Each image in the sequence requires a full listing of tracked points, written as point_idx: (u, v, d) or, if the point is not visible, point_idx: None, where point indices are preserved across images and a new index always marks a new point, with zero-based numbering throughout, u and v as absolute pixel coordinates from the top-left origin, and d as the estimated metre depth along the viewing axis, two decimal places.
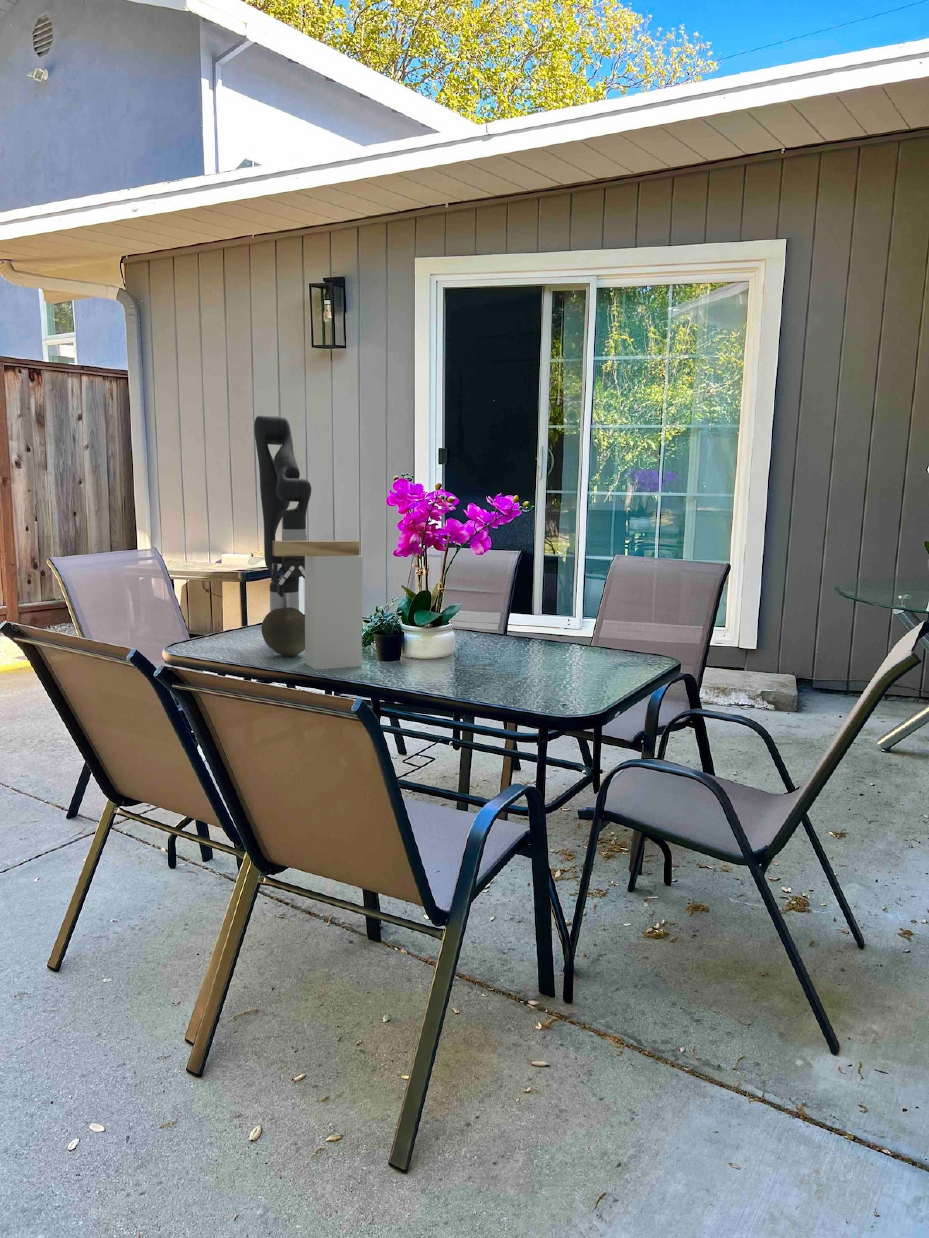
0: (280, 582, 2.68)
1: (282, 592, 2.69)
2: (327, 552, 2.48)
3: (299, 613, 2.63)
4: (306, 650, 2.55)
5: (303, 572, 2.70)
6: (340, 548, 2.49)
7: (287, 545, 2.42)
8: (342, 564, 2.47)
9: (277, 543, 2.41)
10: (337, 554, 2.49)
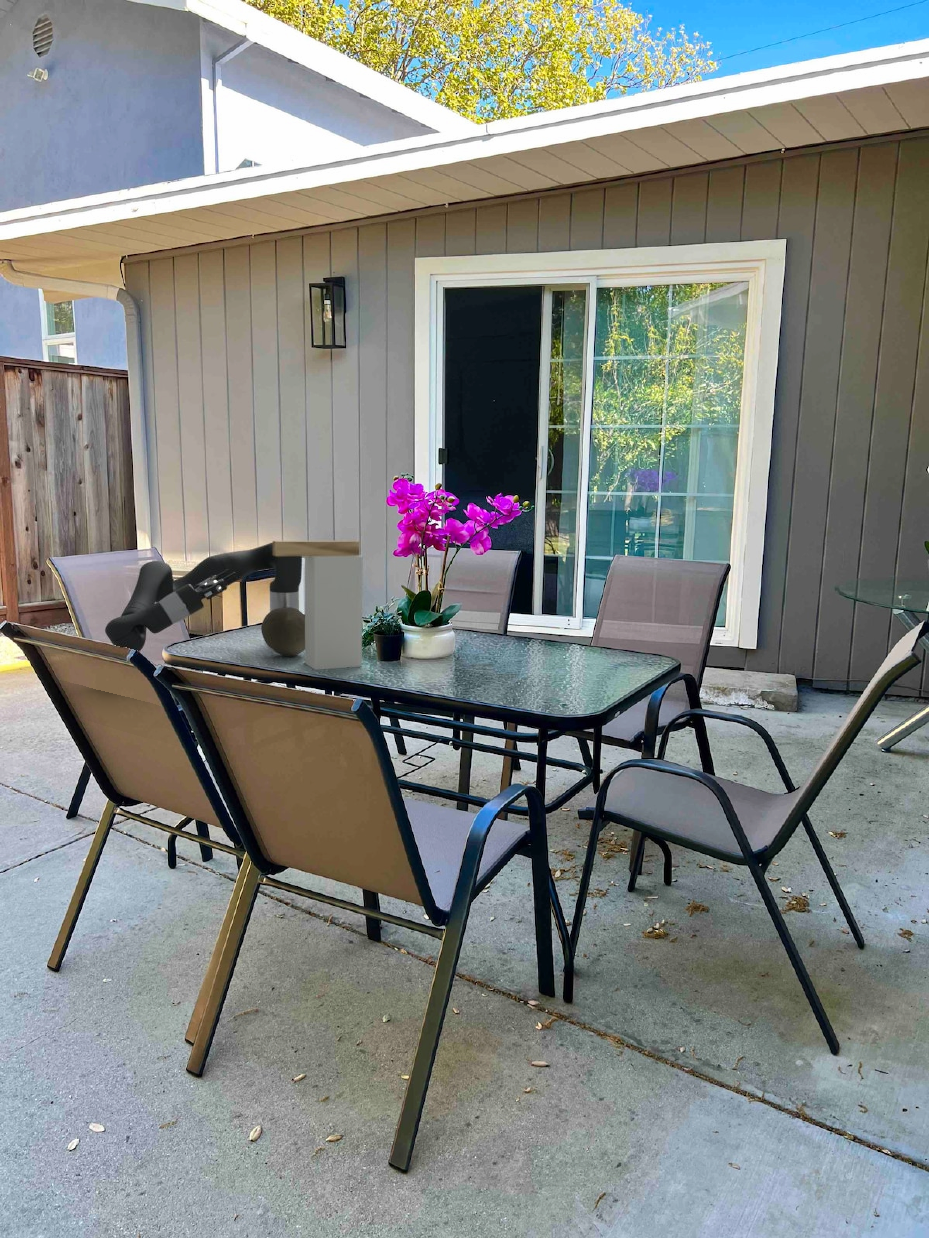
0: (220, 579, 2.33)
1: (230, 574, 2.34)
2: (327, 552, 2.48)
3: (299, 613, 2.63)
4: (306, 650, 2.55)
5: (205, 581, 2.38)
6: (340, 548, 2.49)
7: (287, 545, 2.42)
8: (342, 564, 2.47)
9: (277, 543, 2.41)
10: (337, 554, 2.49)
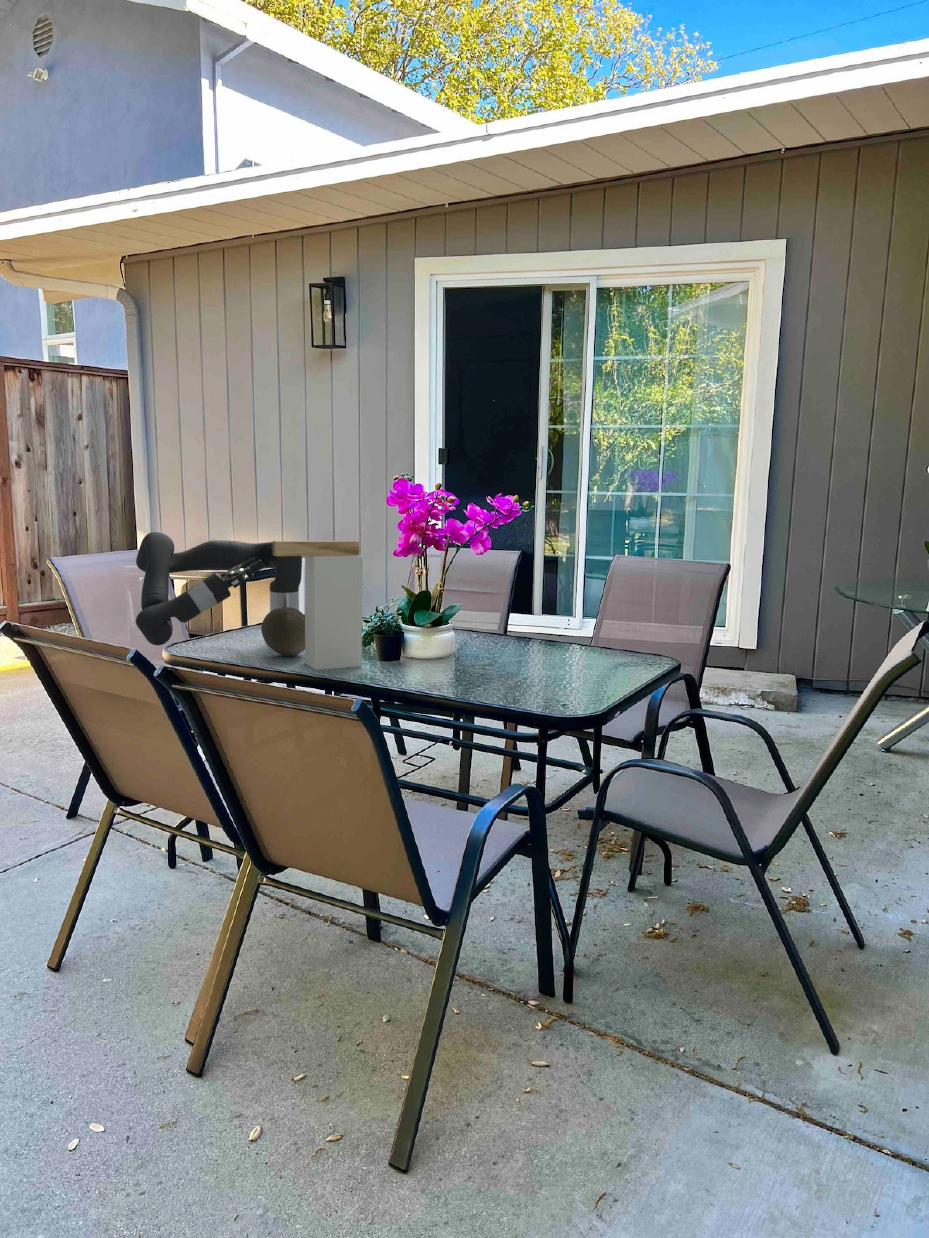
0: (246, 568, 2.35)
1: (256, 562, 2.37)
2: (327, 552, 2.48)
3: (299, 613, 2.63)
4: (306, 650, 2.55)
5: (231, 570, 2.40)
6: (340, 548, 2.49)
7: (287, 545, 2.42)
8: (342, 564, 2.47)
9: (277, 543, 2.41)
10: (337, 554, 2.49)
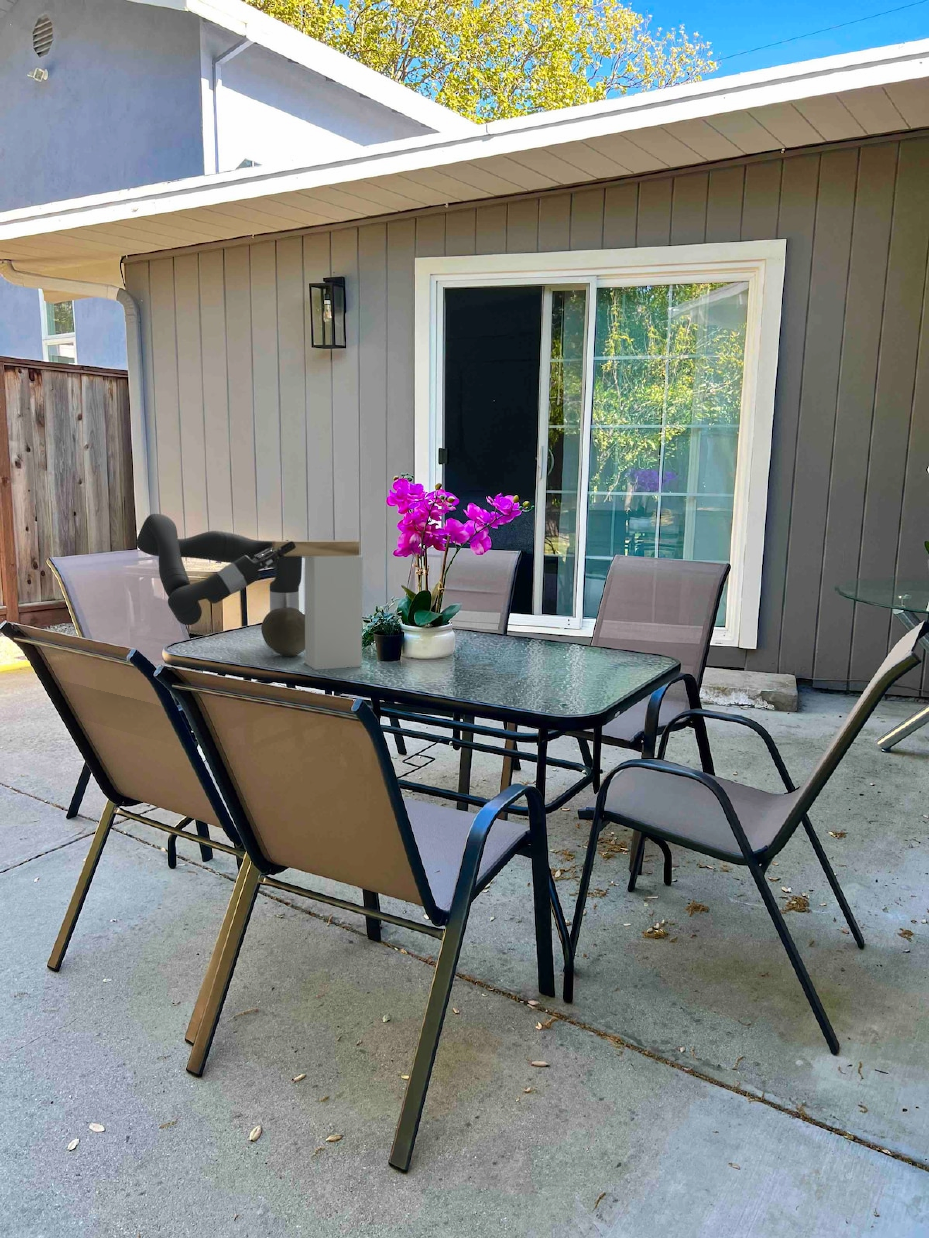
0: (278, 548, 2.41)
1: (287, 543, 2.42)
2: (327, 552, 2.48)
3: (299, 613, 2.63)
4: (306, 650, 2.55)
5: (262, 552, 2.43)
6: (340, 548, 2.49)
7: None
8: (342, 564, 2.47)
9: (277, 543, 2.41)
10: (337, 554, 2.49)
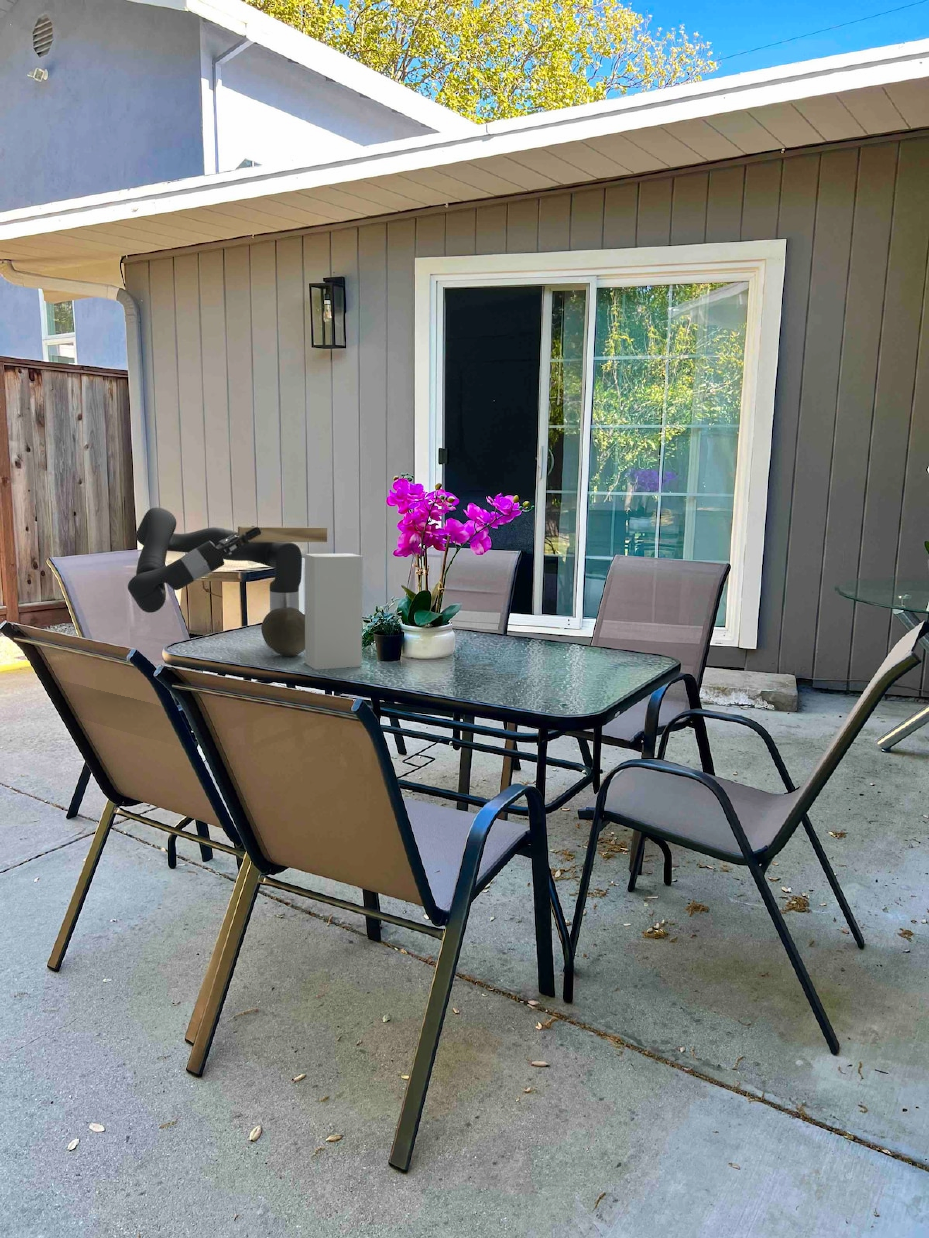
0: (242, 534, 2.36)
1: None
2: (294, 538, 2.43)
3: (299, 613, 2.63)
4: (306, 650, 2.55)
5: (226, 538, 2.39)
6: (307, 534, 2.44)
7: None
8: (342, 564, 2.47)
9: (242, 529, 2.36)
10: (304, 540, 2.44)
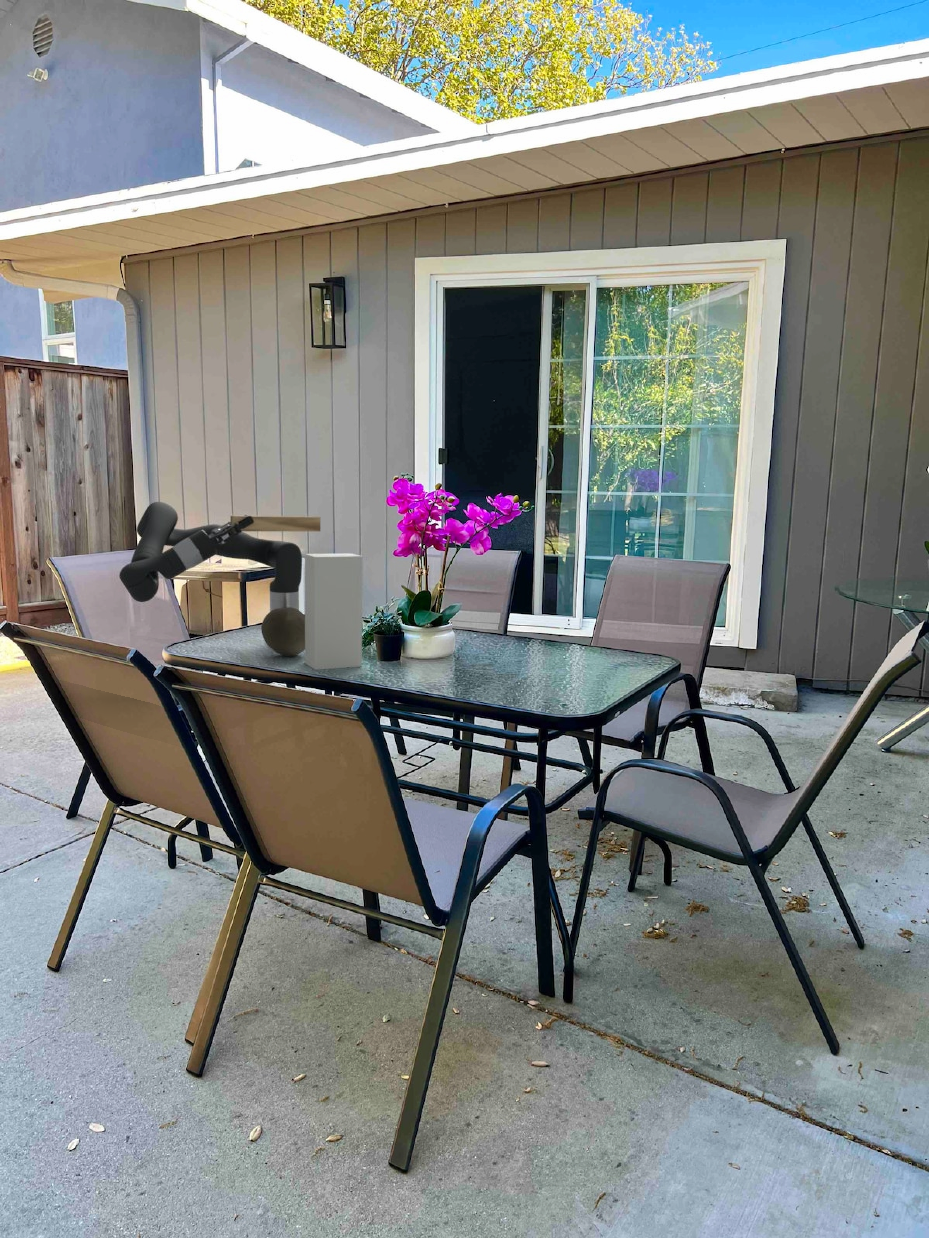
0: (235, 523, 2.35)
1: None
2: (287, 527, 2.42)
3: (299, 613, 2.63)
4: (306, 650, 2.55)
5: (219, 527, 2.37)
6: (300, 523, 2.43)
7: None
8: (342, 564, 2.47)
9: (234, 518, 2.35)
10: (297, 530, 2.43)
